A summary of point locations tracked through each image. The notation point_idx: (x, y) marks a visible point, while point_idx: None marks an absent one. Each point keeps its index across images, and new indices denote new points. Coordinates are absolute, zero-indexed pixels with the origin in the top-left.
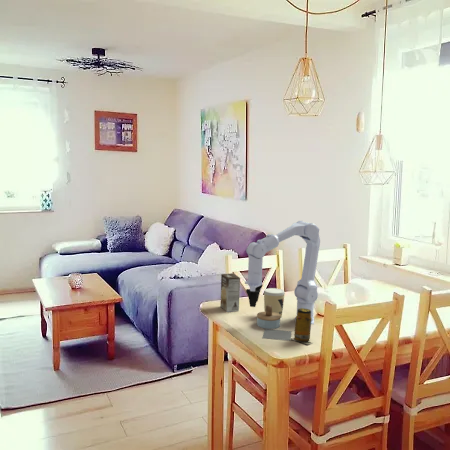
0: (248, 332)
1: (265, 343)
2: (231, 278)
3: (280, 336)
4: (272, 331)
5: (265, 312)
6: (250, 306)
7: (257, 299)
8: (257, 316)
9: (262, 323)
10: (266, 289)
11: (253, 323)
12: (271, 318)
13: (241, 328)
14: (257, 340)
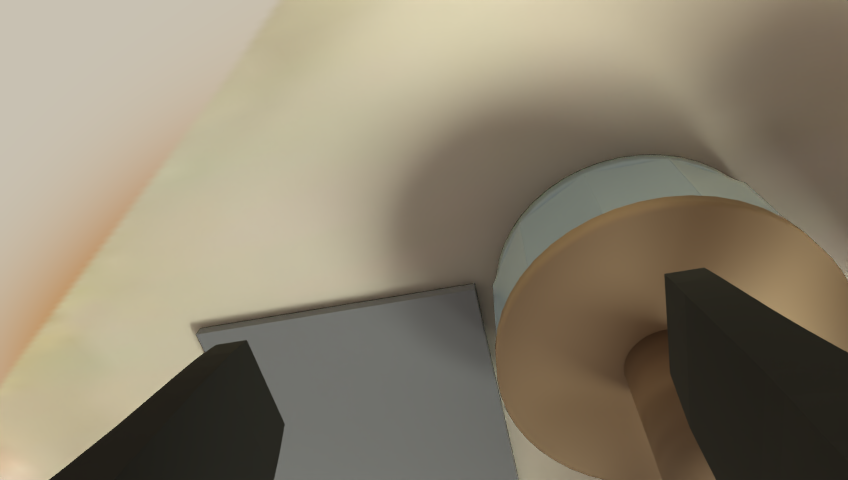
0: (294, 152)
1: (124, 376)
2: None
3: (336, 450)
4: (430, 370)
5: (798, 297)
6: (207, 355)
7: (689, 420)
8: (581, 233)
9: (506, 282)
10: None
11: (656, 97)
12: (534, 420)
13: (383, 17)
14: (139, 302)
